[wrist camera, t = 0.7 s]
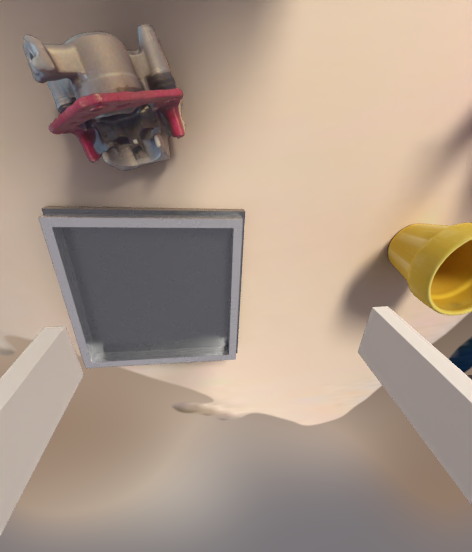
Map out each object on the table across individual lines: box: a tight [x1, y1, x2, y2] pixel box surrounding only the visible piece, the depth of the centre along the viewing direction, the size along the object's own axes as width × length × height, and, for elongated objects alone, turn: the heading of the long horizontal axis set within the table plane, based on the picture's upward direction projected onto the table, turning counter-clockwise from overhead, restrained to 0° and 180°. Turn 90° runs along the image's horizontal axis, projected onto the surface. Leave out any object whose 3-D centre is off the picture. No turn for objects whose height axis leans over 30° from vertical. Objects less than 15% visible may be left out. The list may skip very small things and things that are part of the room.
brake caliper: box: [23, 24, 186, 171], centre depth 21 cm, size 11×11×12 cm
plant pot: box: [388, 223, 472, 315], centre depth 31 cm, size 10×10×10 cm
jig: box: [38, 206, 245, 368], centre depth 33 cm, size 22×22×3 cm
